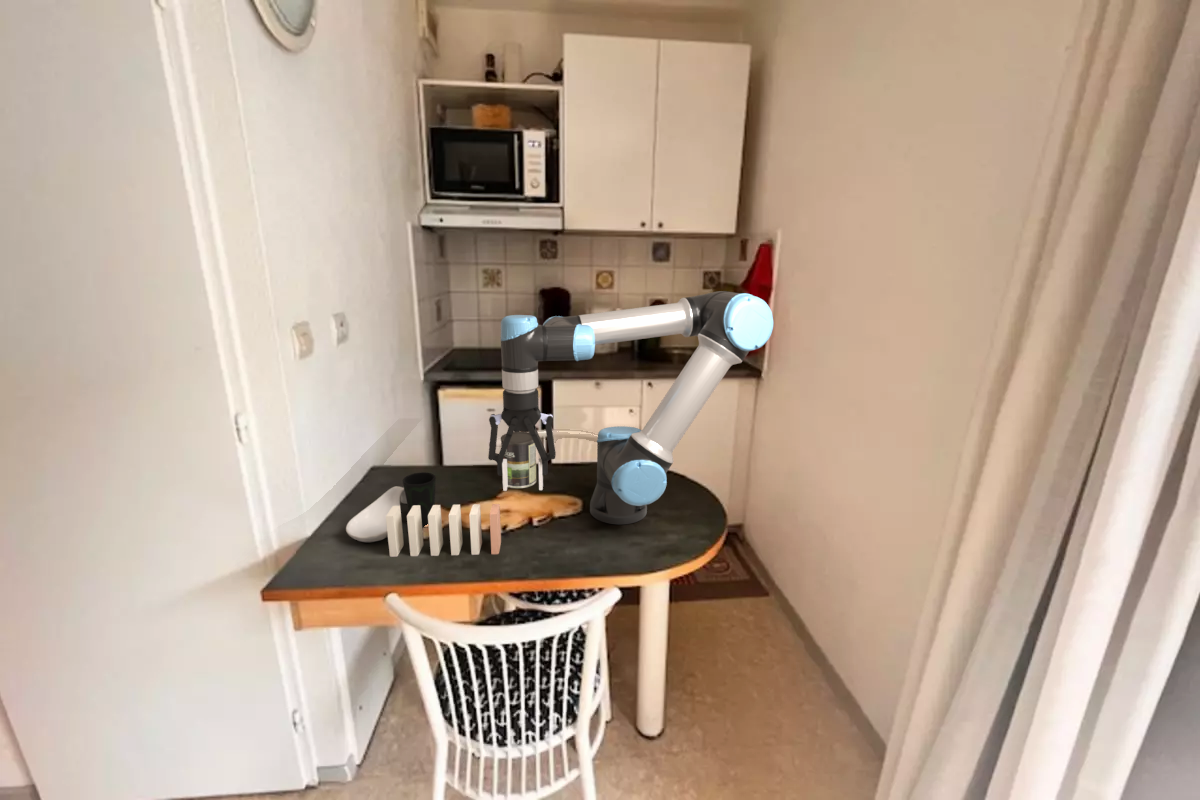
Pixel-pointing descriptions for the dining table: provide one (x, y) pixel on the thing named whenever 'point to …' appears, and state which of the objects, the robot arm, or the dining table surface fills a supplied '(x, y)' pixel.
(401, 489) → the spoon rest
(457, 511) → the tile
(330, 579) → the dining table surface
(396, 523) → the cream flat rectangular block
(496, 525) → the tile
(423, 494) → the cup
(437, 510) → the tile
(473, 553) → the tile
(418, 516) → the tile
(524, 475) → the coffee can
